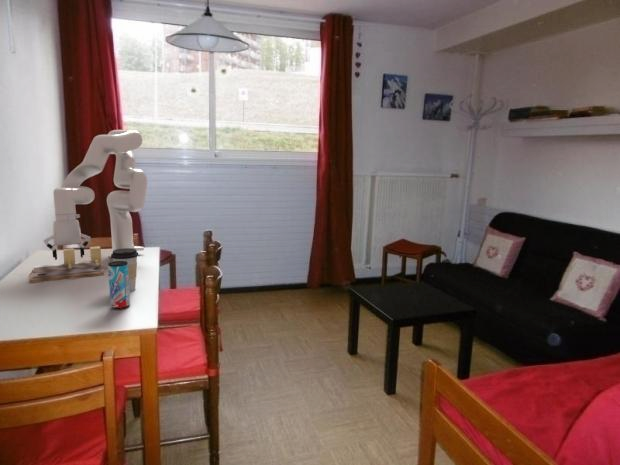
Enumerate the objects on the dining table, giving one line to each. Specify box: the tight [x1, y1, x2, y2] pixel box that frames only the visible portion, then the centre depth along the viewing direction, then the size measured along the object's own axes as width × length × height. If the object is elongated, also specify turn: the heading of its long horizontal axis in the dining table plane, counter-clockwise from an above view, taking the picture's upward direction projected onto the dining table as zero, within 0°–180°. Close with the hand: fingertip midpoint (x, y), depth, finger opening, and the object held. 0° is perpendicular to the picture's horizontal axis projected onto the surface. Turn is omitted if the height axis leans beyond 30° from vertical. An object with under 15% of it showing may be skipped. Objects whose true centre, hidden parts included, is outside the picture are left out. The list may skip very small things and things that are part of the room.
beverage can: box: [107, 261, 131, 310], centre depth 144 cm, size 6×6×15 cm
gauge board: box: [29, 260, 105, 284], centre depth 182 cm, size 26×16×3 cm, turn 119°
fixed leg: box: [89, 245, 102, 268], centre depth 187 cm, size 4×10×7 cm, turn 29°
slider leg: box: [62, 247, 76, 270], centre depth 182 cm, size 4×10×7 cm, turn 29°
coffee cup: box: [110, 248, 139, 293], centre depth 161 cm, size 9×9×15 cm
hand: (69, 257), depth 185 cm, fingers open, 9 cm apart
